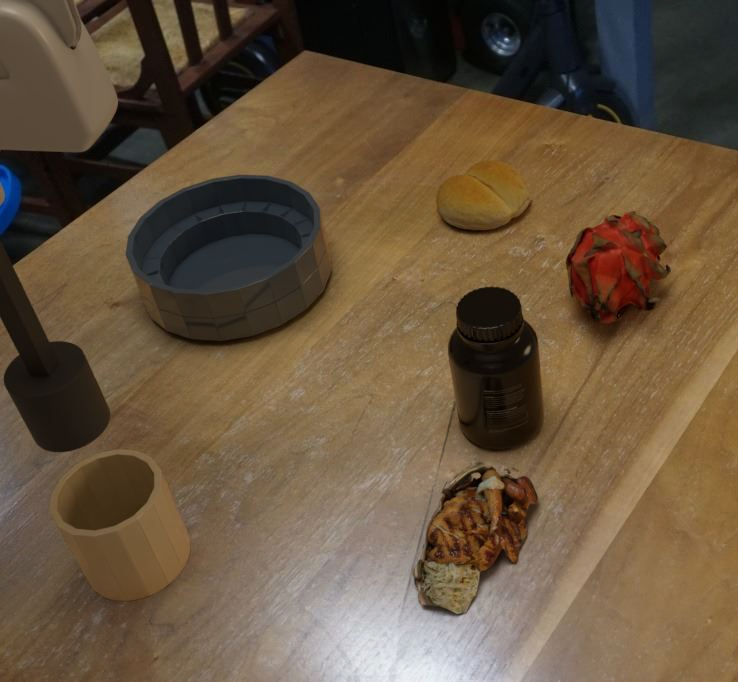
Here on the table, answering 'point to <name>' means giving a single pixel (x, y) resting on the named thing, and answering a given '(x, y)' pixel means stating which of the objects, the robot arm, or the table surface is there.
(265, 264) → the bowl
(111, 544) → the crock
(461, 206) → the bread roll
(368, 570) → the table surface
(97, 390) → the long black rod
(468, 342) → the supplement bottle
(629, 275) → the dragon fruit
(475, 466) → the brown food piece
